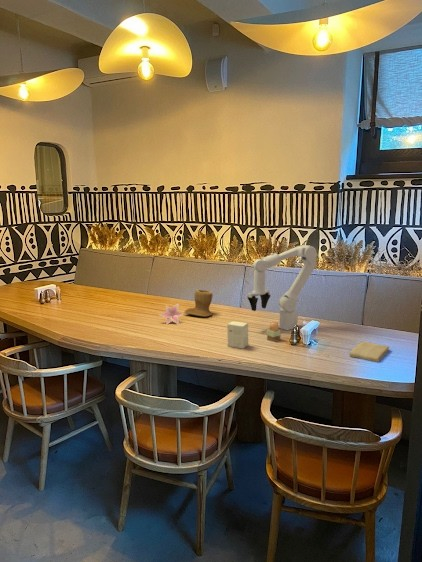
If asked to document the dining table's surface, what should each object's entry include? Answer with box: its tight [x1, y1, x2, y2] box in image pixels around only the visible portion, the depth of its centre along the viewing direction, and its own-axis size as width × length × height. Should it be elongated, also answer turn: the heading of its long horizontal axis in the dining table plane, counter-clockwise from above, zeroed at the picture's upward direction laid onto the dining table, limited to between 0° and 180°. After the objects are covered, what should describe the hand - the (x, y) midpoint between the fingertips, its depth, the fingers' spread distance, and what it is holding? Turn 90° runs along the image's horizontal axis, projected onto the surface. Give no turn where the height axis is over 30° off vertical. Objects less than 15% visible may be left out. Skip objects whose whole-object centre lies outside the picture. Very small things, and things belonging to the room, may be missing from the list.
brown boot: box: [183, 289, 213, 317], centre depth 239 cm, size 15×12×15 cm
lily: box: [158, 303, 184, 325], centre depth 226 cm, size 12×12×10 cm
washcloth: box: [349, 341, 390, 363], centre depth 176 cm, size 12×18×3 cm, turn 144°
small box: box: [226, 321, 249, 349], centre depth 187 cm, size 8×6×10 cm
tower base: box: [266, 334, 281, 343], centre depth 195 cm, size 4×4×2 cm
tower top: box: [266, 328, 282, 337], centre depth 195 cm, size 4×4×2 cm
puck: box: [269, 321, 279, 331], centre depth 194 cm, size 4×4×4 cm
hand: (258, 309), depth 210 cm, fingers open, 7 cm apart
